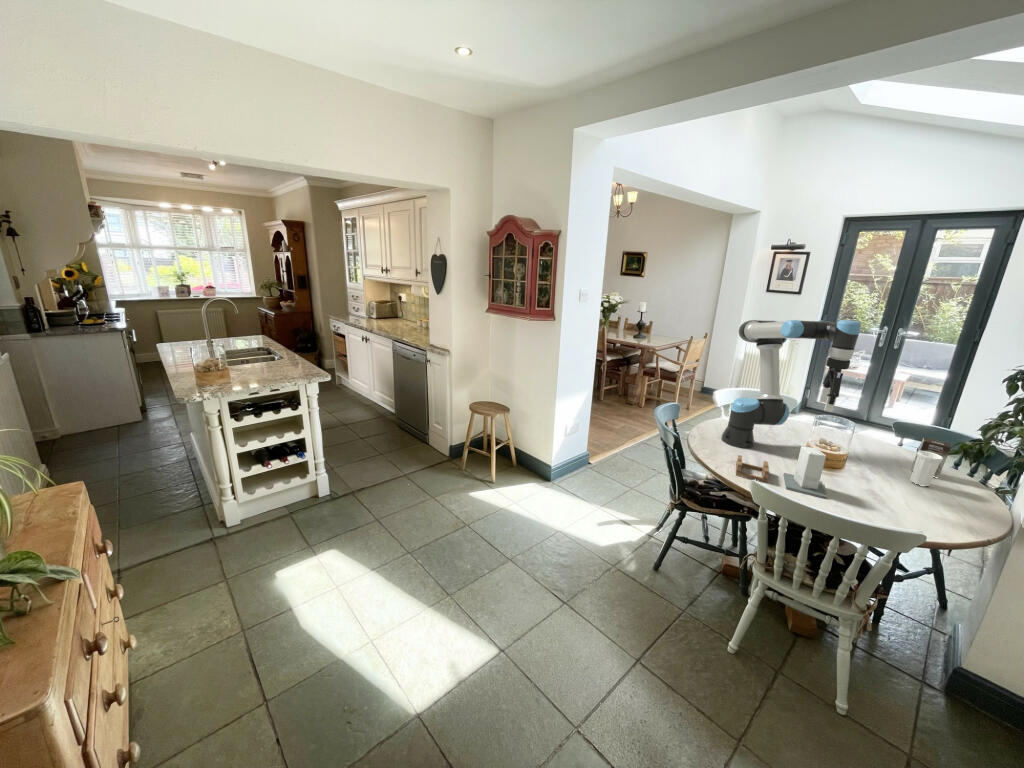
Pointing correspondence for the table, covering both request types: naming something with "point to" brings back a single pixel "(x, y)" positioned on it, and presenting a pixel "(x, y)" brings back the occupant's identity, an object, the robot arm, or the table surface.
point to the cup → (925, 467)
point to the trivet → (794, 486)
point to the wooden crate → (764, 470)
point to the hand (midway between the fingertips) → (825, 406)
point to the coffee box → (935, 451)
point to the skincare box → (809, 467)
